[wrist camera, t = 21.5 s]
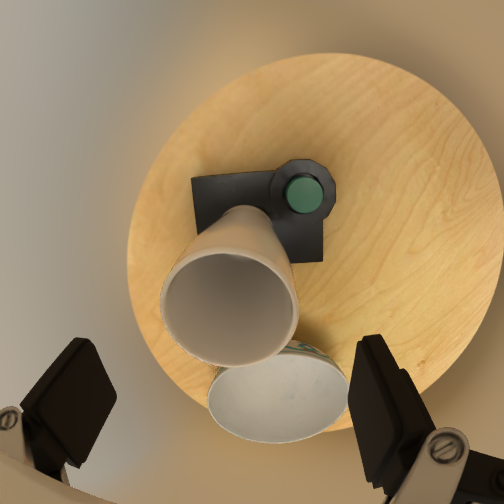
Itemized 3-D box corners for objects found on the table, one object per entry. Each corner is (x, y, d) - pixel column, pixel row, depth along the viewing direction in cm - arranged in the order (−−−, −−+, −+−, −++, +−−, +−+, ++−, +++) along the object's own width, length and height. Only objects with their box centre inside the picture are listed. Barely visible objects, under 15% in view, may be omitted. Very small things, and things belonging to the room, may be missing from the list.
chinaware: (229, 403, 37) (223, 446, 29) (204, 317, 32) (189, 360, 25) (334, 392, 36) (345, 434, 28) (336, 302, 31) (354, 342, 24)
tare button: (284, 176, 24) (286, 178, 23) (318, 175, 24) (322, 176, 23) (286, 210, 25) (288, 214, 24) (319, 208, 25) (323, 212, 24)
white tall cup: (255, 277, 29) (249, 387, 14) (197, 241, 28) (137, 327, 13) (295, 222, 27) (331, 298, 13) (234, 181, 26) (200, 214, 12)
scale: (193, 167, 27) (185, 169, 24) (327, 158, 26) (334, 158, 23) (204, 263, 30) (198, 275, 27) (329, 256, 29) (336, 267, 26)
